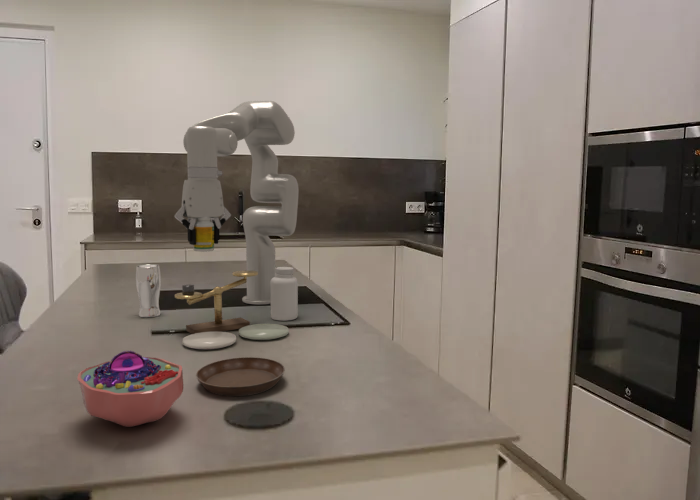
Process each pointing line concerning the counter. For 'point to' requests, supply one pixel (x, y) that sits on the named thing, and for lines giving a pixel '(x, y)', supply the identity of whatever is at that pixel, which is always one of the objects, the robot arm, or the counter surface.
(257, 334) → the pale green dish
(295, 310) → the pill bottle
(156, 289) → the beer glass
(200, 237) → the supplement bottle
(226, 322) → the brass balance
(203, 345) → the cream dish
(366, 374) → the counter surface
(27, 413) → the counter surface
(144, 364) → the cell model
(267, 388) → the plant saucer
